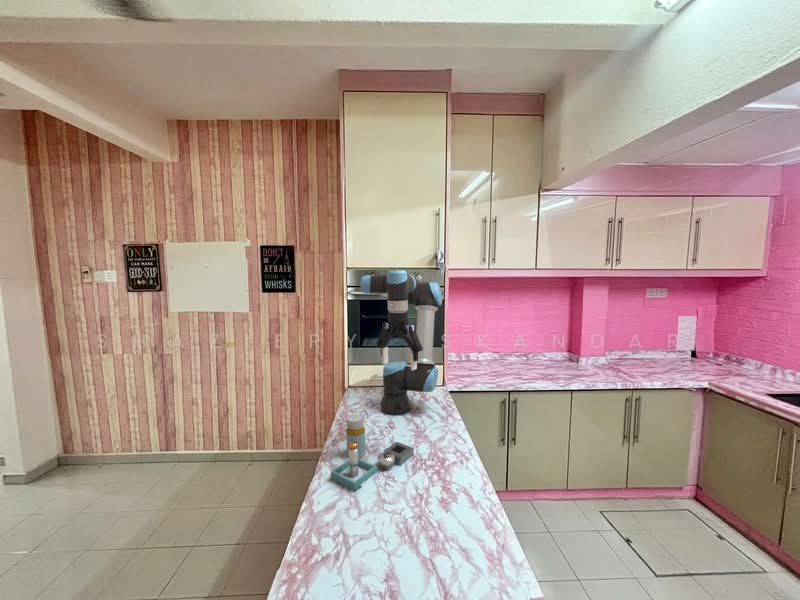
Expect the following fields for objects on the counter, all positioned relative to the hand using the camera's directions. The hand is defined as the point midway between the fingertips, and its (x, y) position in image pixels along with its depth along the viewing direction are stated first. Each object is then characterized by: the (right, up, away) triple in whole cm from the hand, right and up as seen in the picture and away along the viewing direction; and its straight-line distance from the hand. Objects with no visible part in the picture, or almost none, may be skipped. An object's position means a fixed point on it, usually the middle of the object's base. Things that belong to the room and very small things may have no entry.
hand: (399, 366), depth 131 cm
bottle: (-16, -34, -2) cm, 37 cm away
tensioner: (-2, -34, -7) cm, 34 cm away
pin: (-15, -34, -15) cm, 40 cm away
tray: (-15, -35, -15) cm, 41 cm away
